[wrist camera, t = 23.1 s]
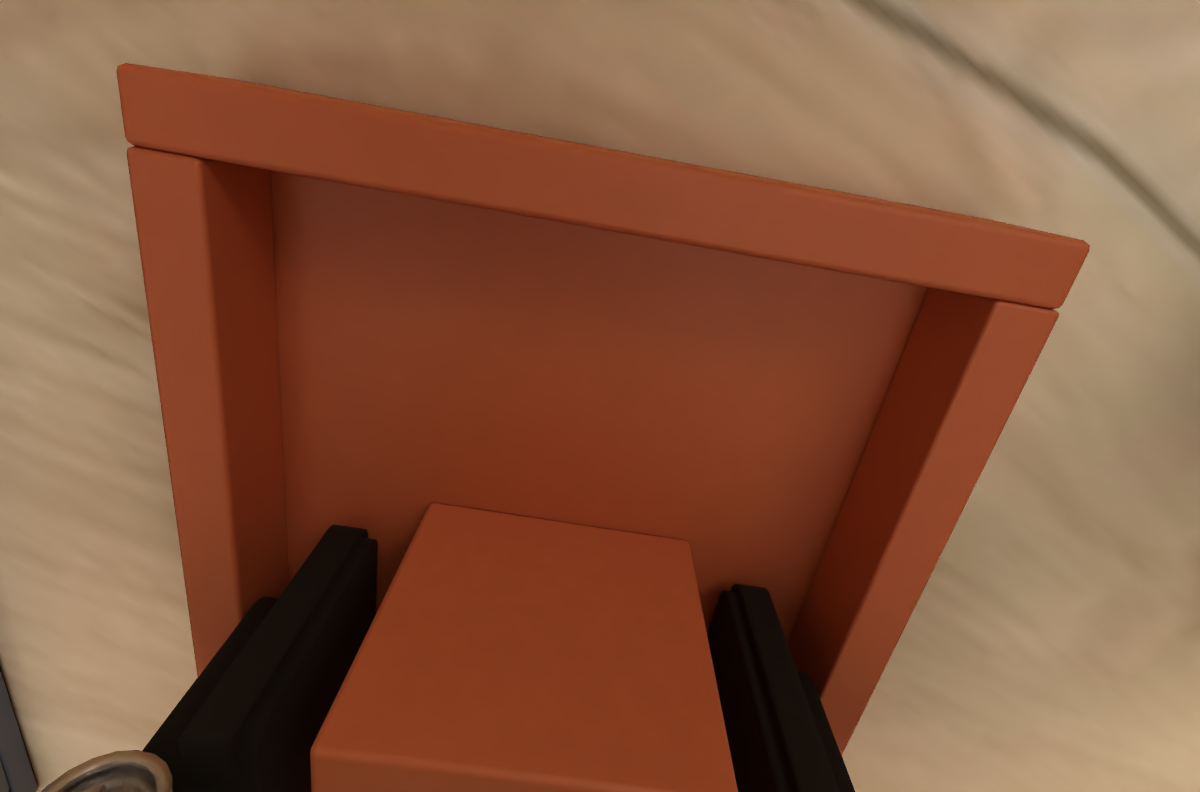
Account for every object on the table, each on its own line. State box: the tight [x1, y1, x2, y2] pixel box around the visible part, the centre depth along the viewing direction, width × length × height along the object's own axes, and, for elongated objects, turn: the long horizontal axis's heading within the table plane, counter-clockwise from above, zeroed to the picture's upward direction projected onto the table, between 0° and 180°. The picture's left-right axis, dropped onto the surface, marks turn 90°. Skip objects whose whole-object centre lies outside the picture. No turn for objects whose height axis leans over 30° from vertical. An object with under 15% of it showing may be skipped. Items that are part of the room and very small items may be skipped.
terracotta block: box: [310, 503, 738, 792], centre depth 9 cm, size 4×4×4 cm
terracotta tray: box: [117, 63, 1090, 755], centre depth 10 cm, size 16×11×2 cm
